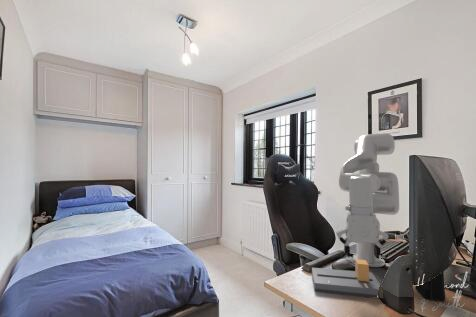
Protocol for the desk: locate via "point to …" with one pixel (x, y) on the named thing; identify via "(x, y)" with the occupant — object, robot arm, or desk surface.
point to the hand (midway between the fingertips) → (362, 256)
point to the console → (343, 283)
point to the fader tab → (362, 270)
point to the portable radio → (433, 288)
